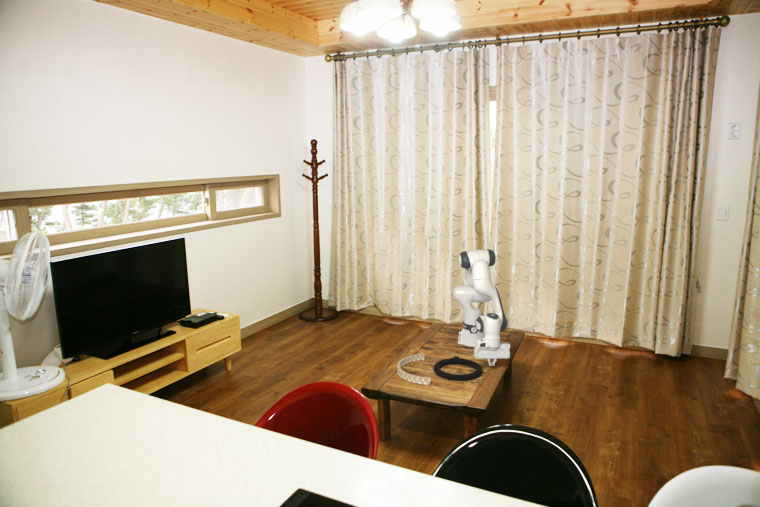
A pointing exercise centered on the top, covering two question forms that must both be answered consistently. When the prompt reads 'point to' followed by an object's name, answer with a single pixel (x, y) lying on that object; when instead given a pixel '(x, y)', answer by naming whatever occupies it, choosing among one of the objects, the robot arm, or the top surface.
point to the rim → (408, 376)
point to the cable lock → (455, 376)
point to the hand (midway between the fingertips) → (491, 365)
